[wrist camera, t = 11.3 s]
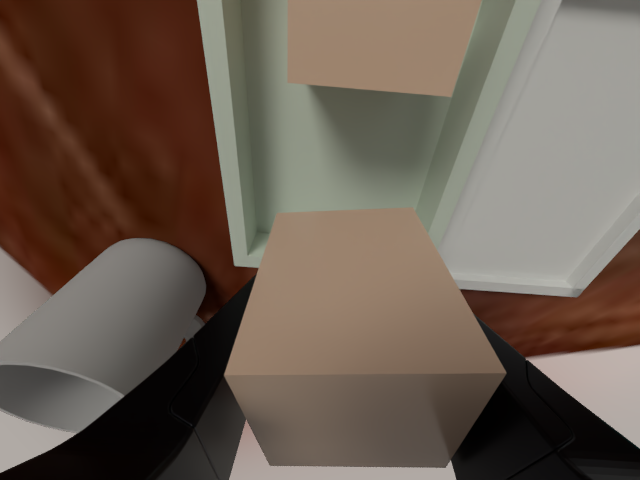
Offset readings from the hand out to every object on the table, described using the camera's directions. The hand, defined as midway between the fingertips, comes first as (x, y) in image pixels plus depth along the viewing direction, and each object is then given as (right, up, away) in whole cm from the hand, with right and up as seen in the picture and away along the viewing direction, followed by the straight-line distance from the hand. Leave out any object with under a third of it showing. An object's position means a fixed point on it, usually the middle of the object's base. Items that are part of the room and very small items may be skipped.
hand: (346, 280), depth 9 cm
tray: (+12, +5, +6) cm, 14 cm away
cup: (-12, -2, +11) cm, 17 cm away
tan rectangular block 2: (0, +1, +1) cm, 1 cm away
